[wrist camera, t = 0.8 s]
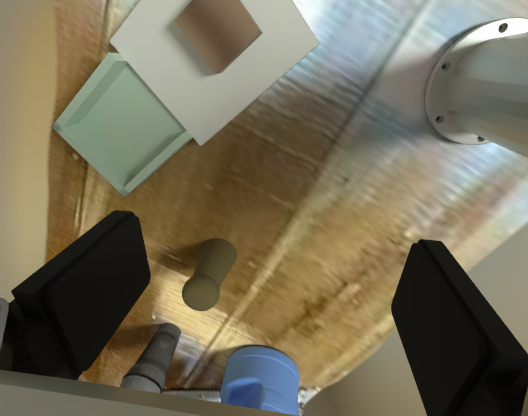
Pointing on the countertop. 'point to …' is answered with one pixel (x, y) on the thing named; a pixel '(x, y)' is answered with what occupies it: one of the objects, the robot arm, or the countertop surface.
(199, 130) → the white flat slab
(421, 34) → the countertop surface
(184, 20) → the walnut tile
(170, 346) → the beverage cup
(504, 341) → the robot arm
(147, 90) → the box
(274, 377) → the water jug
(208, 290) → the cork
